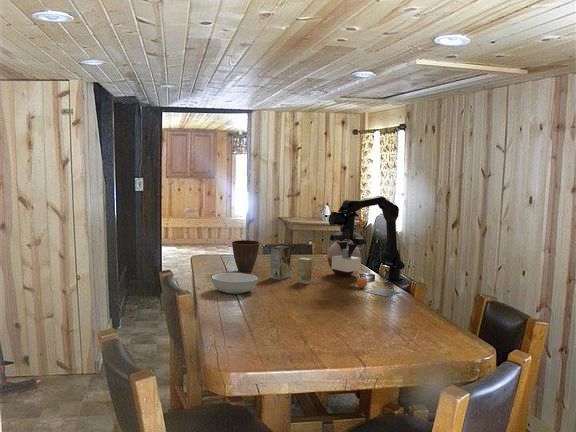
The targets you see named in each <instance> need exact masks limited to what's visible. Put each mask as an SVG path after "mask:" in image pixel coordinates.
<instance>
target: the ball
mask: <svg viewBox="0 0 576 432" xmlns="http://www.w3.org/2000/svg"><path fill="white" fill-rule="evenodd" d="M356 285H357V287H359V288H361V289H362V288H363V289H365V288H366V287H367V285H368V281H367V279H366V278H365V277H359V278H357V280H356Z"/></svg>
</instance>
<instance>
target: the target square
mask: <svg viewBox="0 0 576 432" xmlns="http://www.w3.org/2000/svg"><path fill="white" fill-rule="evenodd" d="M364 293H366V294H372V295H376V296H381V297H384V298H387V297H390V296H393V295H397V294H401V292H400V291H395V290H391V289H387V288H381V287H377V288H373V289H368V290H364Z"/></svg>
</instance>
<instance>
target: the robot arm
mask: <svg viewBox="0 0 576 432" xmlns="http://www.w3.org/2000/svg"><path fill="white" fill-rule="evenodd" d="M372 206H373V207H374V206H378V208H379V209H380V210H381V211H382V216H383V218H384V220H385V222H386V223H385V224H386V250H385V251H383V258H382V259H383V261H384V263H385V266H386V268H387V267H388V268H389V269H388V277H386V278H385V279H387V280H389V281H391V280H392V281H395V282H396V281H401V280H400V276H401V277H402V275H401V273H402V272H401V271H402V270H404V269H405V266H406V265H405V264H404V262H403V260H402V259H401V254H400V251H399V250H398V244H397V219H399V214H400V209H399V206H398V205H397V204H394V203H393V202H392V201H390V200H388V199H387V198H386V197H385V196H383V195H377V196H373V197H367V198H362V199H345V200H343V202H342V204H341V206H340V207H339V208H338V210H337V211H331V212H330V214H329V217H328V224H329V225H330V226H339V225H343V227H341V230H340V229H339V231H337V232H335V233H334V234H331V235H330V236H329V240H330V241H334V242H336V241H337V242H336V243H338V244H339V245H340V248H341V251H342V249H346V248H347V242H345V241H349V242H350V244H348V246H349V254H348V255H349V257H351V255H352V253H353V251H354V250H355V248H356V247H358V246H360V245H361V246H362V245H363V244H364V245H366V244H367V240H366V238H363V237H362V238H359V237H356V235H354V232H355V231H356V230H357V229H356V227H355V222H356V218H357V217H360V215H359V214H358V213H357V212H358V211H360V210H361V209H363V208H368V207H372Z"/></svg>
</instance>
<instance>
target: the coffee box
mask: <svg viewBox="0 0 576 432" xmlns="http://www.w3.org/2000/svg"><path fill="white" fill-rule="evenodd" d="M291 251H292V250H291V246H288V245H287V246H286V245H278V246H272V247H270V272H269V273H270V277H269V278H271V279H274V280H279V281H280V280H284V279H287V278H290V277H291V256H292V255H291Z"/></svg>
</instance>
